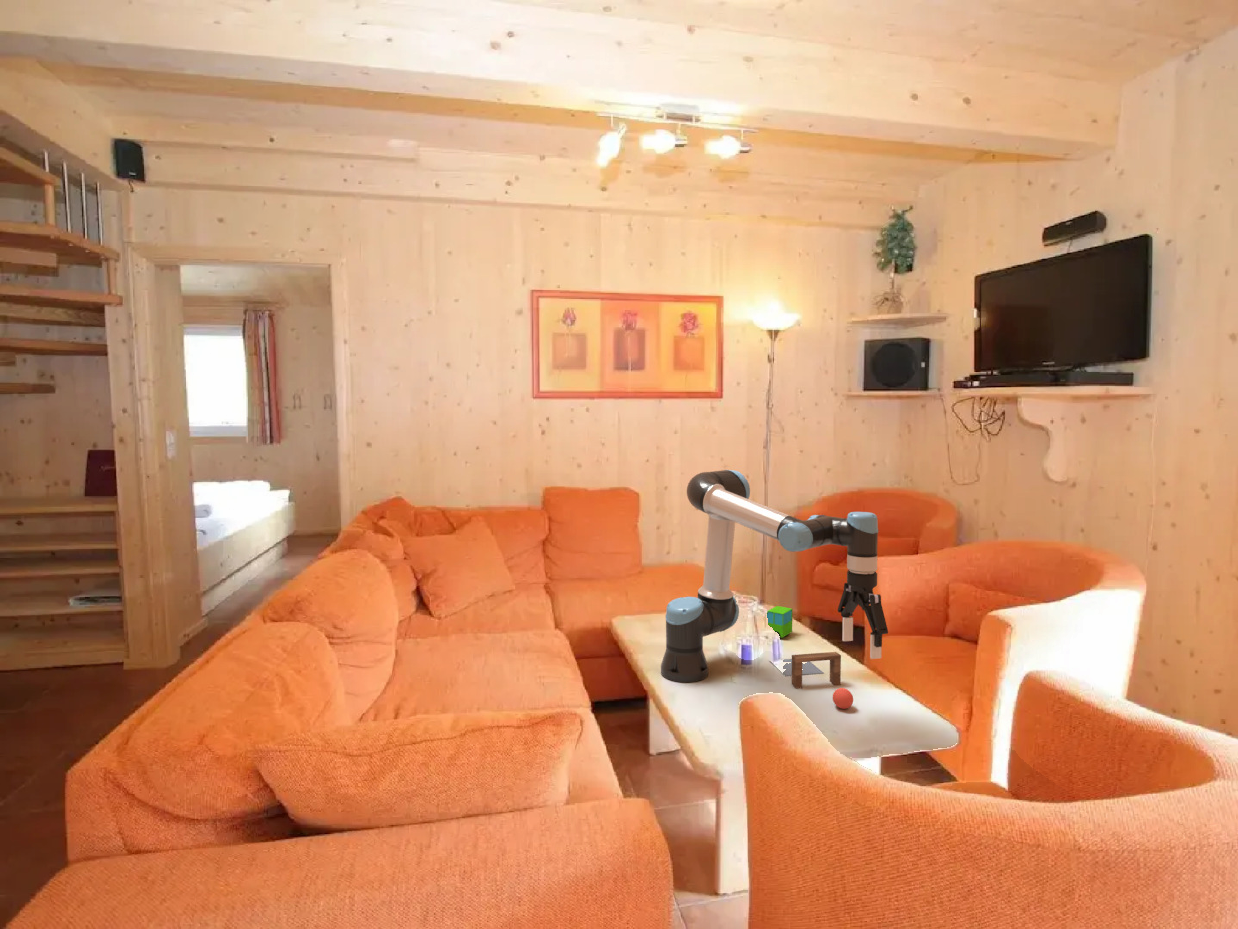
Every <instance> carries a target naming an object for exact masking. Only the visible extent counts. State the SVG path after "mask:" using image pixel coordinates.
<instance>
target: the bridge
mask: <svg viewBox="0 0 1238 929" xmlns="http://www.w3.org/2000/svg"><path fill="white" fill-rule="evenodd" d="M841 658H842V655H841V654H840V653H839V652H837V651H829V652H816V653H812V652H811V653H805V654H804V653H803V654H802V653H801V654H791V659H792V676H791V679H790V680H791V682H790V683H791V684H790V685H791V686H792V687H793V688H795V689H802V688H803V675H802V662H821V661H823V662H824V661H829V682H830V684H832V685H833V686H840V685H841V672H842V671H841V668H842V659H841Z"/></svg>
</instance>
